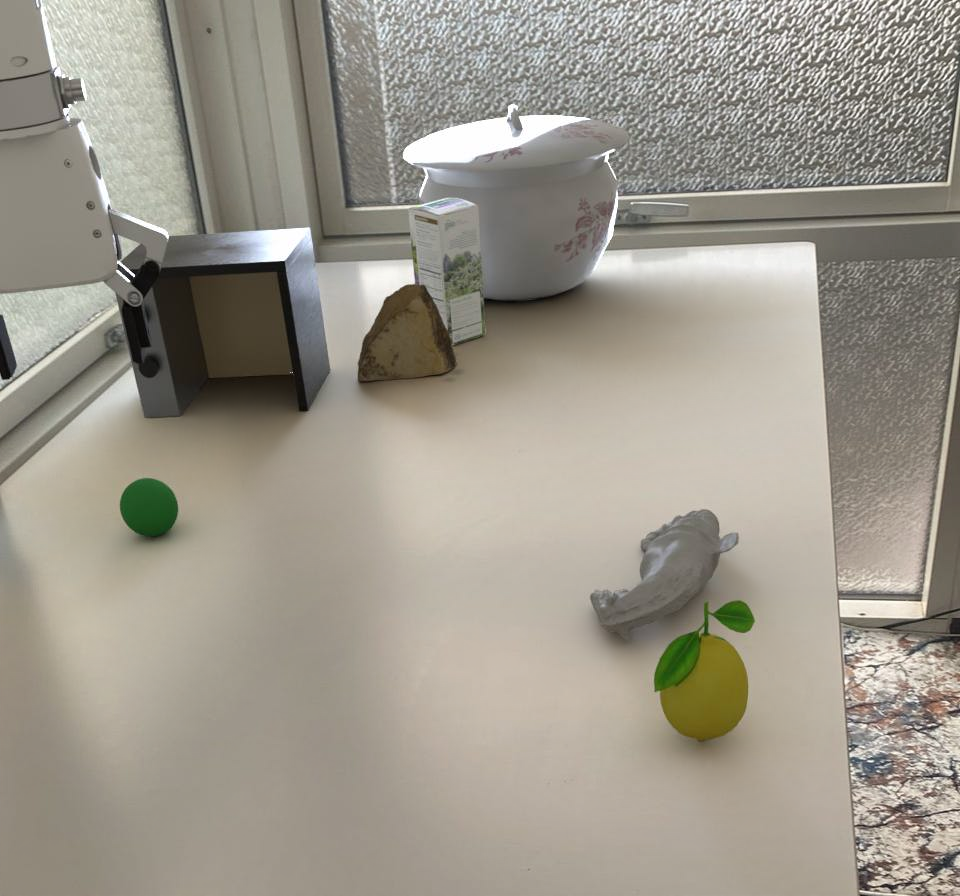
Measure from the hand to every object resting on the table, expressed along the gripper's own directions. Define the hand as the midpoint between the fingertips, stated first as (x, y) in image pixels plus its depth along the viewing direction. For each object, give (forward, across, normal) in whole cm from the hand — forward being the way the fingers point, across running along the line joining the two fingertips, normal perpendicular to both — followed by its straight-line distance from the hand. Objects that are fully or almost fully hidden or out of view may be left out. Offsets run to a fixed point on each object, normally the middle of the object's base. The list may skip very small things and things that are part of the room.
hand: (75, 365), depth 99 cm
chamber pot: (+18, -45, -74) cm, 89 cm away
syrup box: (+18, -34, -56) cm, 68 cm away
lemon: (+18, -39, +33) cm, 55 cm away
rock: (+18, -27, -46) cm, 56 cm away
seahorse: (+18, -42, +12) cm, 47 cm away
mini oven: (+18, -9, -46) cm, 50 cm away
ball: (+16, -1, -11) cm, 19 cm away
